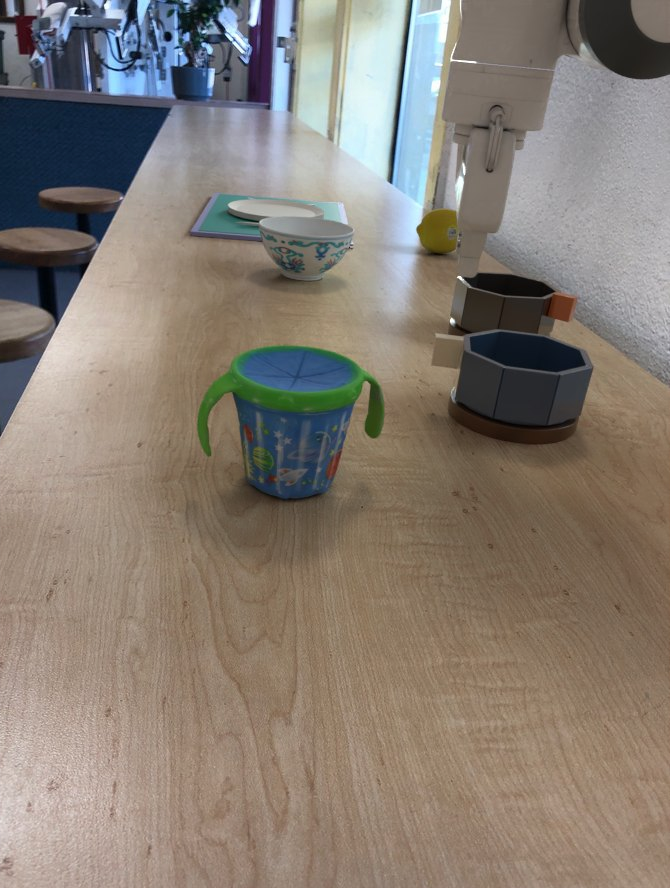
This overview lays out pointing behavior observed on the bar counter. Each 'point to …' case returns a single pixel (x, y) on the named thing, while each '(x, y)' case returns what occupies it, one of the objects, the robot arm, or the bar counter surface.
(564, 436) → the disc
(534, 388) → the slate bowl
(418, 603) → the bar counter surface
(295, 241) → the chinaware
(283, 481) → the snack cup
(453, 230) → the lemon
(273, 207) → the place mat
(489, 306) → the dark grey octagonal pot
